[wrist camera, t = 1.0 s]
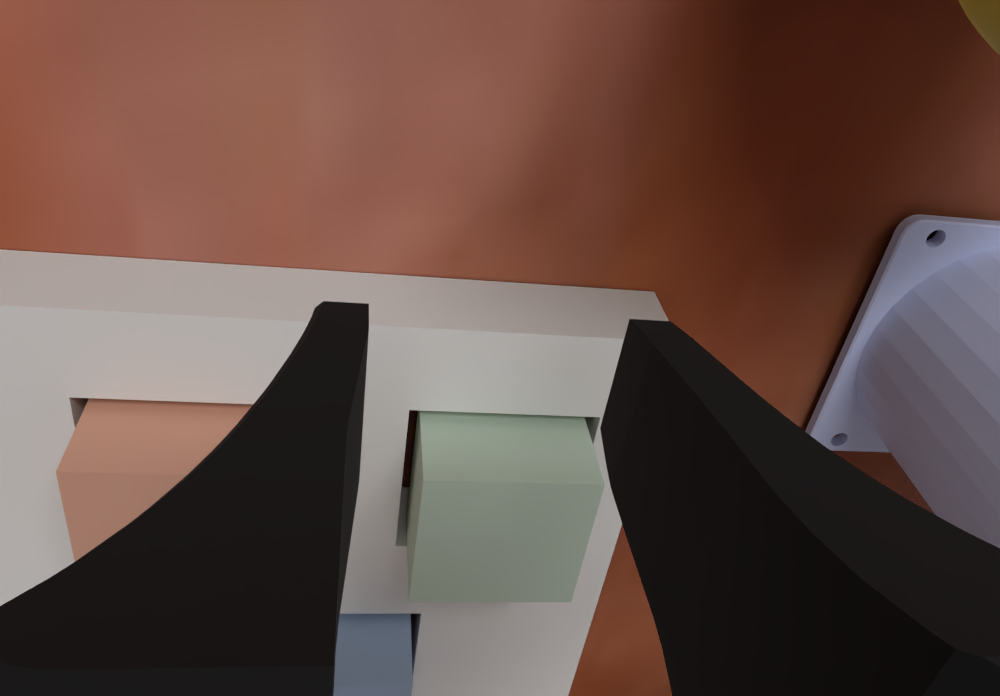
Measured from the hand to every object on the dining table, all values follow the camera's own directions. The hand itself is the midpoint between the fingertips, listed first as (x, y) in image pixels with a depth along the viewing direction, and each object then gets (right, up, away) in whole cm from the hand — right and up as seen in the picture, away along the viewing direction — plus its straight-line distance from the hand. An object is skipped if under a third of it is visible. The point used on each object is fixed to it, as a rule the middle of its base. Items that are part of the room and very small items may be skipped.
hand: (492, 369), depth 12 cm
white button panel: (-6, -5, +14) cm, 16 cm away
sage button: (0, -3, +12) cm, 12 cm away
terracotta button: (-8, -3, +10) cm, 13 cm away
